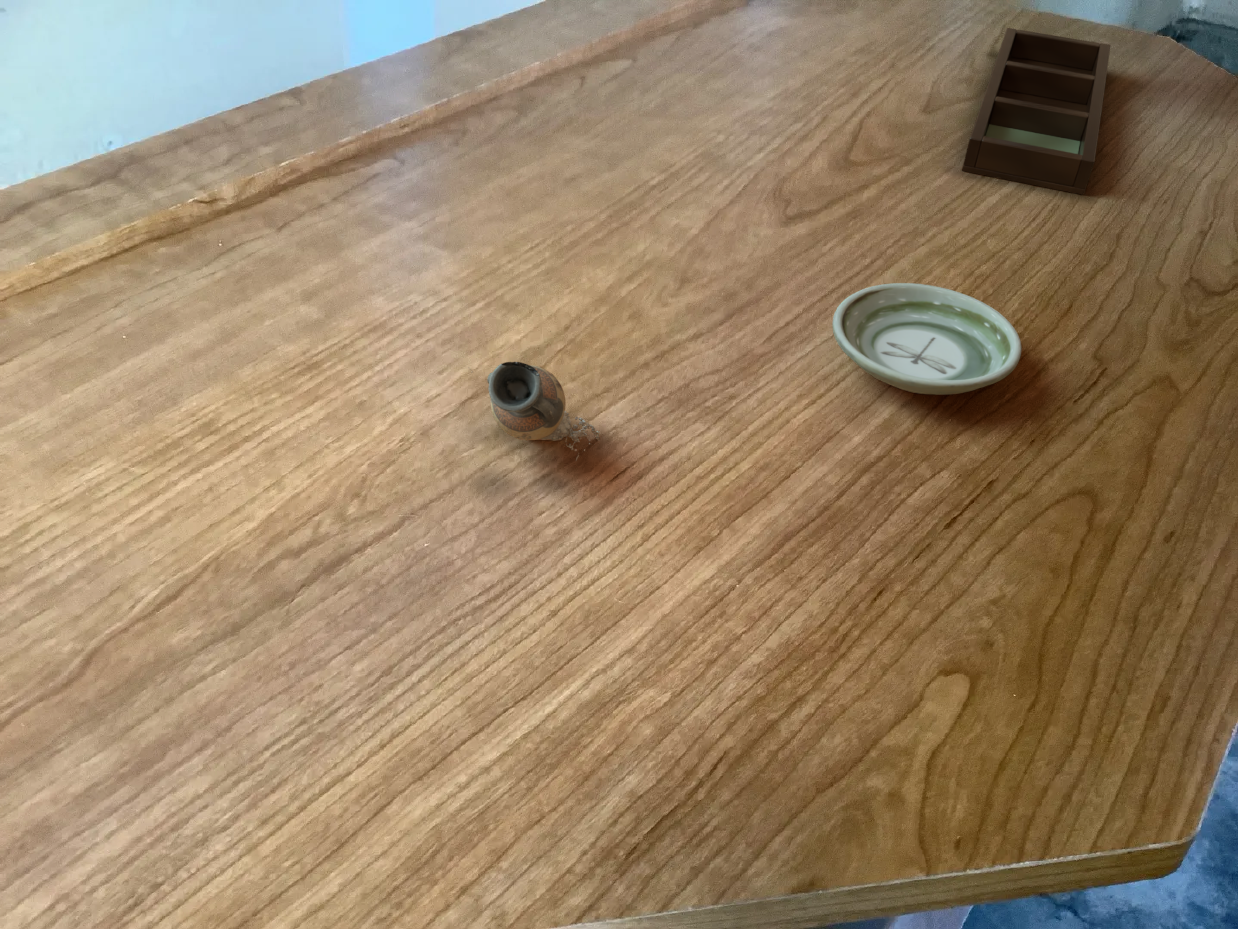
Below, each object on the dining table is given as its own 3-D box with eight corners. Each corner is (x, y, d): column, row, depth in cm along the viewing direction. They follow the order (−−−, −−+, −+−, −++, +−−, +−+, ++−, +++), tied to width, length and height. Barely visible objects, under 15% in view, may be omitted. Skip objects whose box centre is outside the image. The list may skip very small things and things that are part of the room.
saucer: (1019, 340, 66) (1030, 302, 64) (1000, 442, 59) (1012, 403, 57) (846, 301, 68) (853, 264, 67) (808, 395, 61) (815, 356, 60)
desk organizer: (1101, 73, 96) (1110, 44, 95) (1083, 194, 80) (1094, 161, 78) (999, 56, 98) (1006, 26, 97) (961, 170, 82) (969, 137, 80)
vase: (548, 509, 54) (550, 402, 50) (446, 469, 55) (440, 363, 51) (604, 443, 57) (609, 339, 54) (506, 408, 59) (505, 305, 55)
